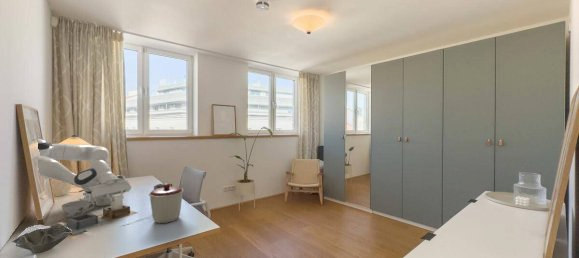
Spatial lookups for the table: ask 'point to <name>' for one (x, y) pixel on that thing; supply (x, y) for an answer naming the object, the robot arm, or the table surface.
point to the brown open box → (116, 213)
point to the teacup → (76, 208)
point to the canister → (166, 203)
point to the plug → (117, 201)
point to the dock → (83, 223)
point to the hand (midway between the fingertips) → (117, 199)
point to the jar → (102, 202)
